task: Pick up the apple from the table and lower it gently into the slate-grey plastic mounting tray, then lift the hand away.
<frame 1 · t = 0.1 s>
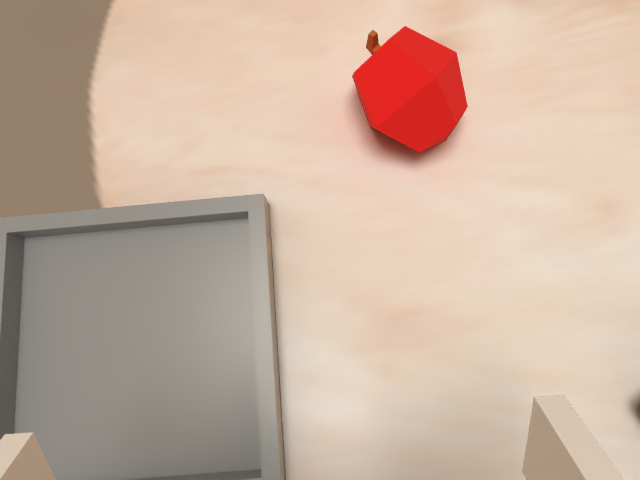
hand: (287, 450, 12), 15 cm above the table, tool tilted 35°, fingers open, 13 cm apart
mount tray: (142, 345, 28), on the table
apple: (401, 115, 31), on the table
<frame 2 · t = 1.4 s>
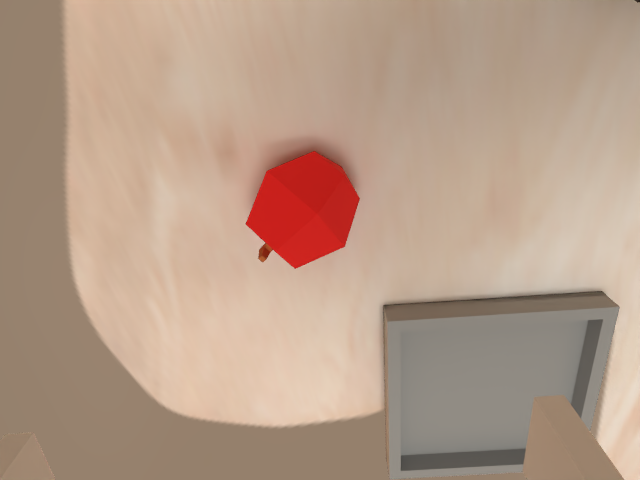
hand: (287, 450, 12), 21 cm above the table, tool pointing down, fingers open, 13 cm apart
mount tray: (483, 382, 38), on the table
apple: (303, 194, 31), on the table
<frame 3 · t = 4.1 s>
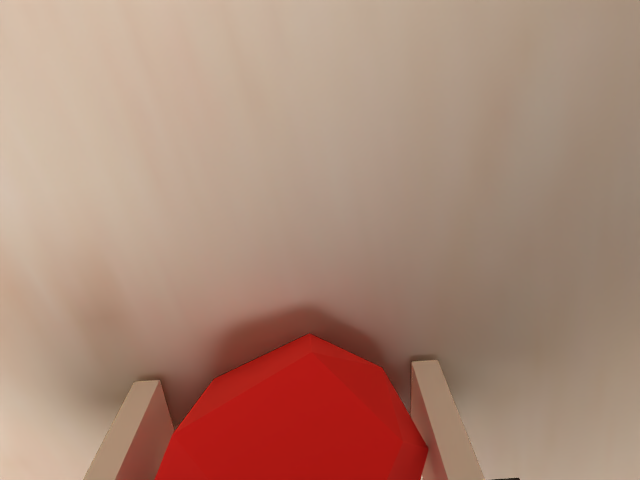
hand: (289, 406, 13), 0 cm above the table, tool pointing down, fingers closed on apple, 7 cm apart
apple: (287, 395, 14), on the table, touching gripper
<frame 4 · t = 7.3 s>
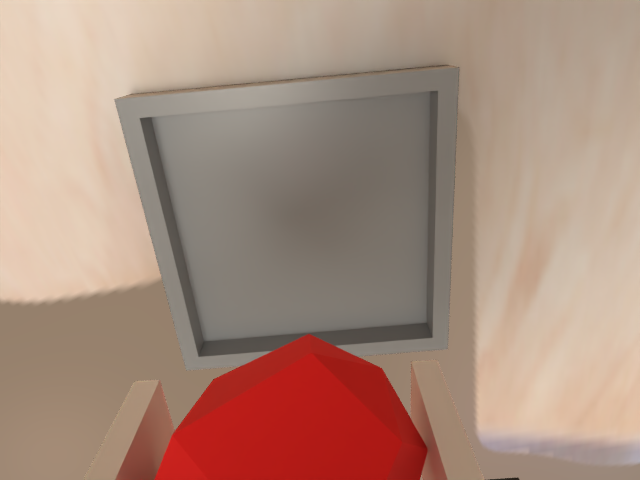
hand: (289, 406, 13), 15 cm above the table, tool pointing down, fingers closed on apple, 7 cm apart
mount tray: (303, 226, 27), on the table
apple: (286, 395, 14), point 15 cm above the table, touching gripper
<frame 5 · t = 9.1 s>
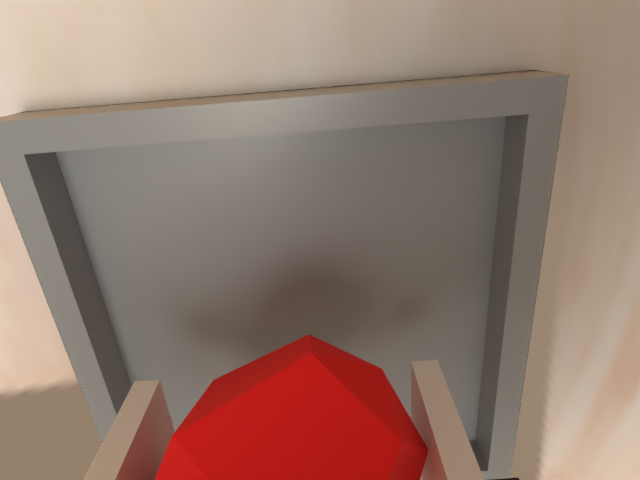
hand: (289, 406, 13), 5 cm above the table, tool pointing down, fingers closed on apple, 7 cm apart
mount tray: (299, 307, 18), on the table
apple: (286, 395, 14), point 5 cm above the table, touching gripper
when the fingers open (3 cm above the table, at t = 10.5 s): apple drops 2 cm, resting on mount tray.
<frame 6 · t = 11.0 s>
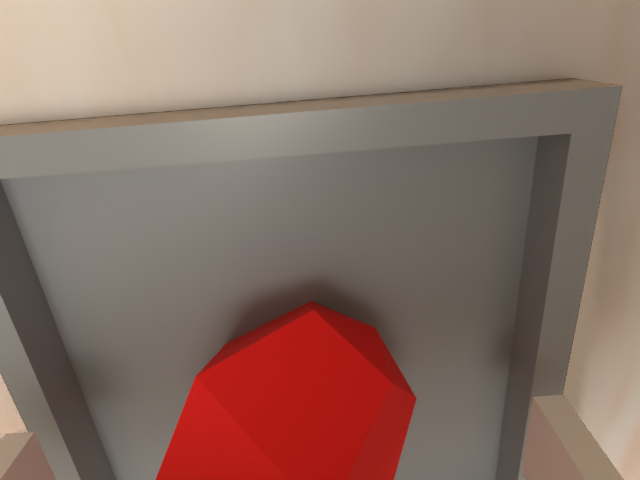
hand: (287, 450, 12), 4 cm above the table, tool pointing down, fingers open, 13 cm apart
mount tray: (293, 351, 16), on the table
apple: (291, 359, 15), resting on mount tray
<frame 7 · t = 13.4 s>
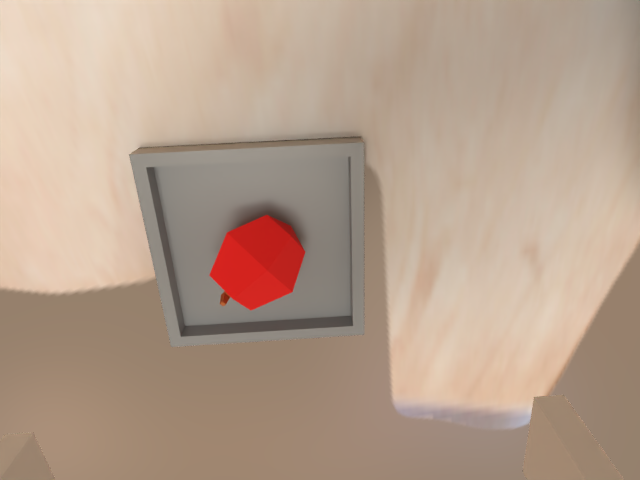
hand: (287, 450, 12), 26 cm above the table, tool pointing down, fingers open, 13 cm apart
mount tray: (260, 242, 38), on the table
apple: (260, 244, 37), resting on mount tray
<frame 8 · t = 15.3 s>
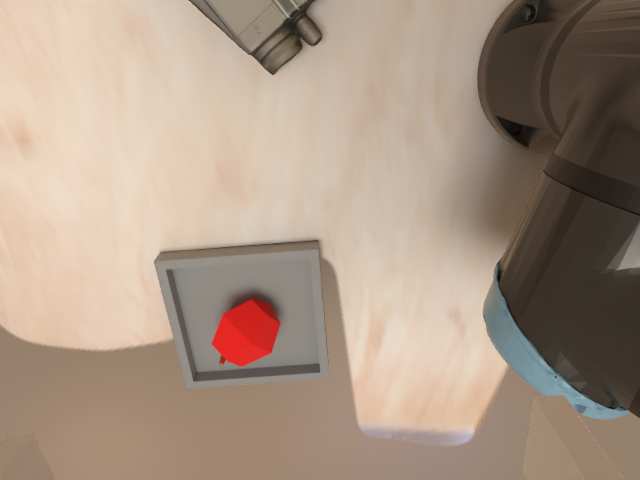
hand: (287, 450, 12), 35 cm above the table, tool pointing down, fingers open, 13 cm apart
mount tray: (250, 313, 51), on the table
apple: (249, 315, 51), resting on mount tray
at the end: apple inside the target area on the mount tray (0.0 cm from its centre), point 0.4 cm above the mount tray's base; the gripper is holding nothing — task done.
